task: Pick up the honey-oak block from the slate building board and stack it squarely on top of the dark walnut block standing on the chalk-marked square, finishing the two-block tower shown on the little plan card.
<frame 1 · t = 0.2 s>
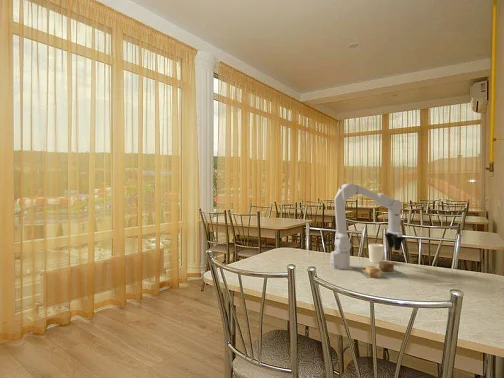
hand: (394, 248, 169), 10 cm above the table, tool pointing down, fingers open, 7 cm apart
oak block: (373, 275, 152), point 1 cm above the table, touching build board
white cup: (375, 263, 180), on the table
build board: (381, 274, 157), on the table
walnut block: (386, 271, 161), point 1 cm above the table, touching build board
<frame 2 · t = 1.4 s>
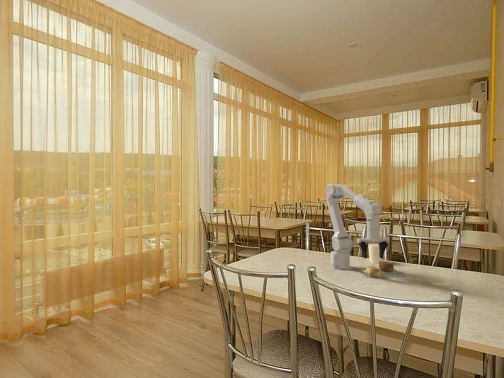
hand: (373, 258, 152), 9 cm above the table, tool pointing down, fingers open, 7 cm apart
nothing on the table moved.
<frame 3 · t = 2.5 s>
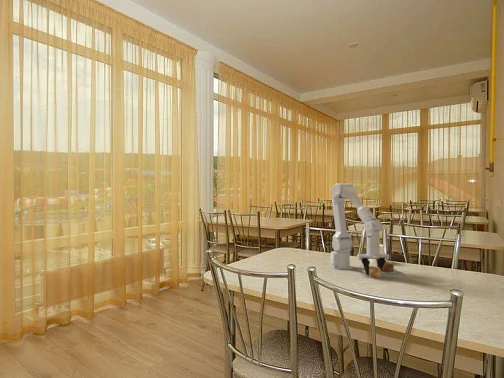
hand: (373, 274, 152), 1 cm above the table, tool pointing down, fingers closed on oak block, 5 cm apart
oak block: (373, 275, 152), point 1 cm above the table, touching build board, gripper
everything else where it was.
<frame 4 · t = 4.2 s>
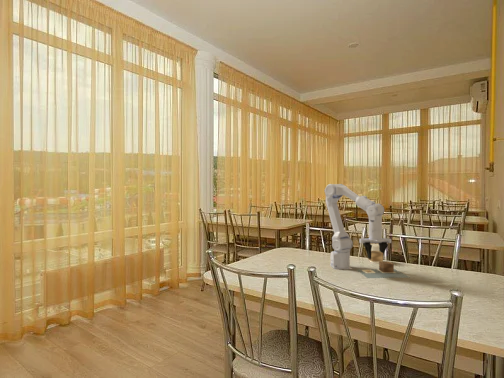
hand: (375, 258, 154), 9 cm above the table, tool pointing down, fingers closed on oak block, 5 cm apart
oak block: (375, 260, 153), point 8 cm above the table, touching gripper
everything else where it was.
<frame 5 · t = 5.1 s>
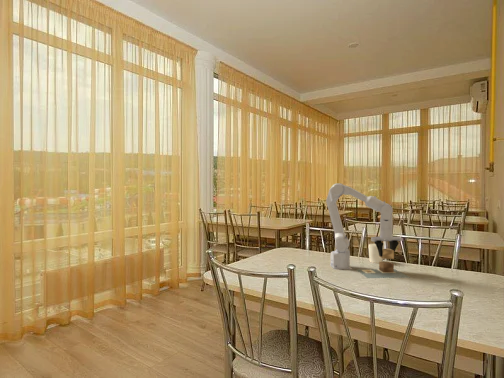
hand: (386, 255, 161), 8 cm above the table, tool pointing down, fingers closed on oak block, 5 cm apart
oak block: (386, 257, 160), point 7 cm above the table, touching gripper
everything else where it was.
when the fingers open (6 cm above the table, at t = 5.9 s): oak block stays where it is, resting on walnut block.
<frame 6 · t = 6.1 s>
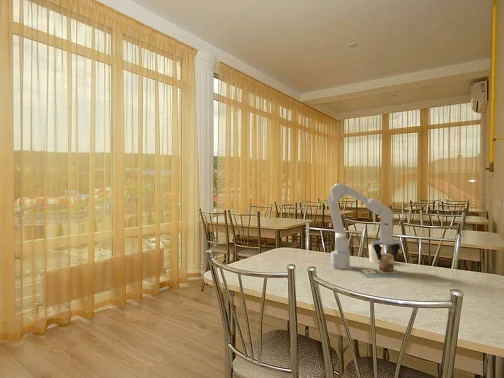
hand: (386, 259, 161), 6 cm above the table, tool pointing down, fingers open, 7 cm apart
oak block: (386, 262, 161), point 5 cm above the table, touching walnut block
walnut block: (386, 271, 161), point 1 cm above the table, touching build board, oak block
everything else where it was.
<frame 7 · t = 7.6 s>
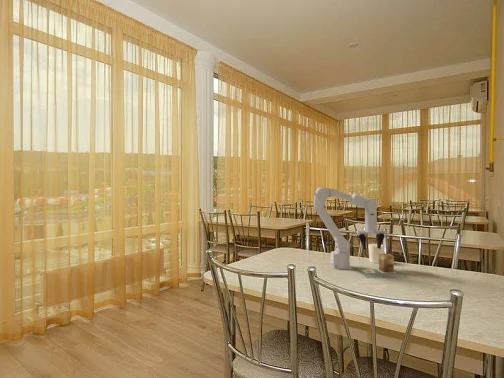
hand: (371, 248, 167), 10 cm above the table, tool pointing down, fingers open, 7 cm apart
nothing on the table moved.
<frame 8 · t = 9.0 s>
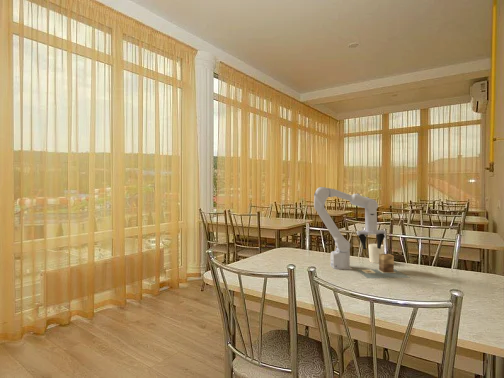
hand: (371, 248, 167), 10 cm above the table, tool pointing down, fingers open, 7 cm apart
nothing on the table moved.
at the end: oak block 0.1 cm off-centre on the walnut block, point 4.0 cm above the walnut block's base; oak block tilted 0°; walnut block 0.0 cm from the target spot on the build board, point 0.6 cm above the build board's base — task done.
